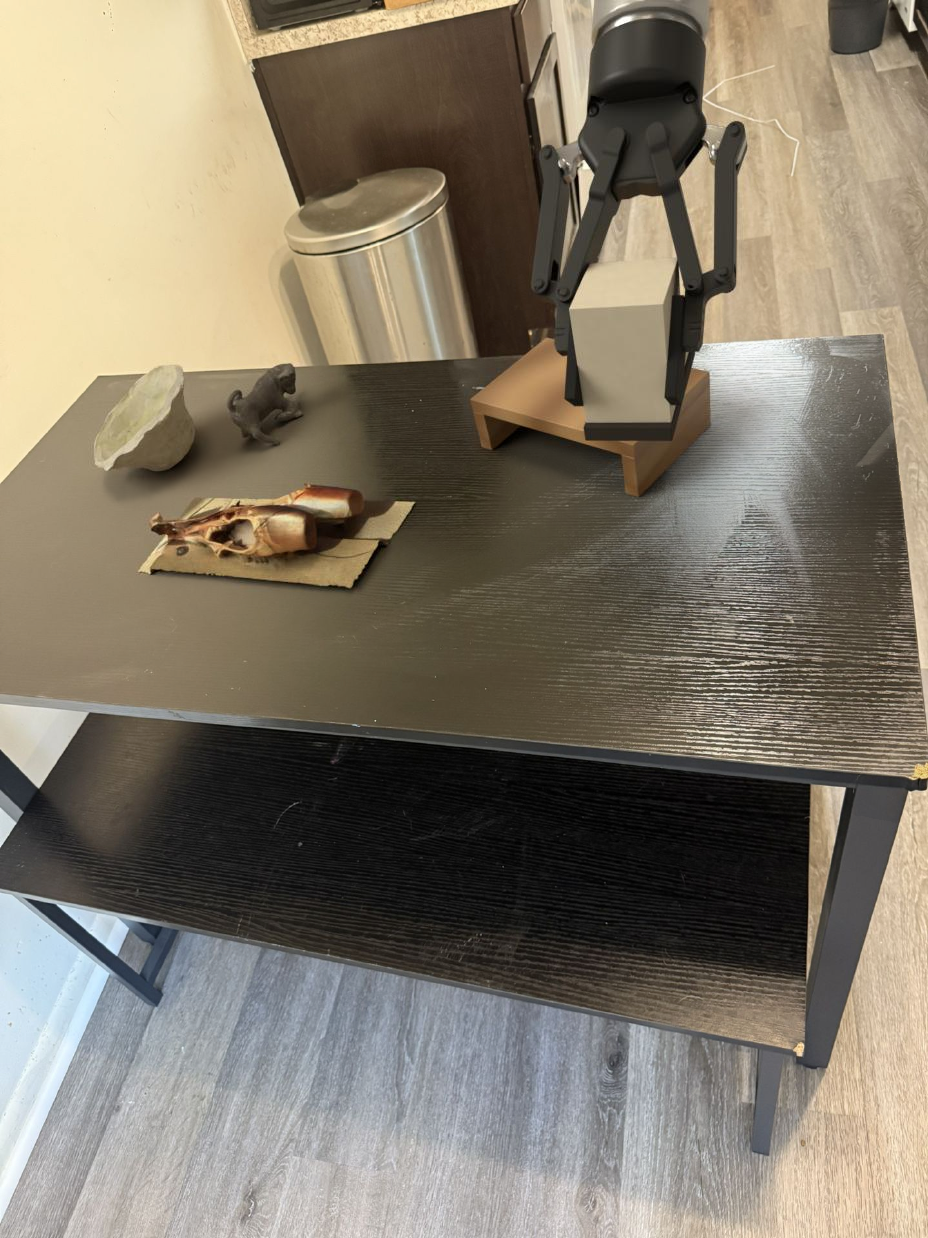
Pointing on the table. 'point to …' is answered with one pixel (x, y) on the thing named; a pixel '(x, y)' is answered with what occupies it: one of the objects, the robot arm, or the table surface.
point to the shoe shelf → (580, 414)
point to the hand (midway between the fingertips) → (623, 401)
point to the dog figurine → (265, 402)
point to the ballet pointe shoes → (278, 536)
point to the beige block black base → (626, 349)
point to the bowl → (147, 424)
